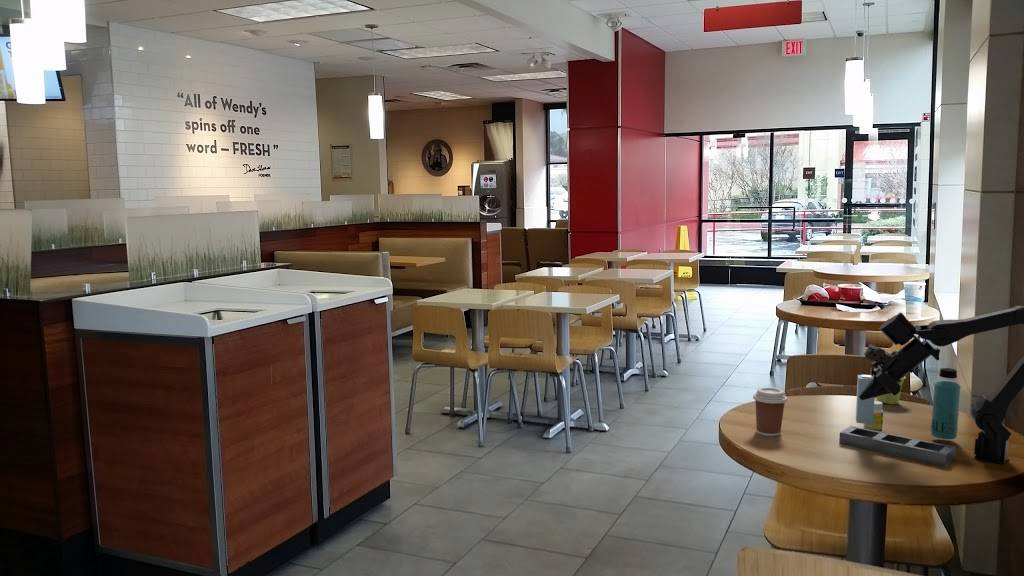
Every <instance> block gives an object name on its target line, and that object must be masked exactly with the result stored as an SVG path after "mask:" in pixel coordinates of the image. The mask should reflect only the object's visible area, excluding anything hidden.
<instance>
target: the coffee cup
mask: <svg viewBox="0 0 1024 576" xmlns="http://www.w3.org/2000/svg"><path fill="white" fill-rule="evenodd" d="M752 399H753V400H754V401H755V421H756V423H755V424H756V433H757V434H759V435H762V436H765V437H777V436H780V435H781V432H782V424H783V417H784V411H785V410H784V409H785V403H787V402H788V396H786V394H785V391H784V390H782V389H780V388H776V387H765V386H764V387H759V388H758V389H757V391H756V392H755V393H754V394H753V396H752Z"/></svg>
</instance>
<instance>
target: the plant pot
mask: <svg viewBox="0 0 1024 576" xmlns="http://www.w3.org/2000/svg"><path fill="white" fill-rule="evenodd" d="M906 378H907V377H906V375H905V376H904V377H903V378H902V379H901V382H900V385H901V389H902V387H903V384H904V382H905V380H906ZM901 391H902V390H901ZM901 391H900V392H899V393H898V394H896V395H895V396H894V395H893V394H892V393H891V394H885V395H880V396H876V401H879V402H882V404H888V405H897V404H898V403H899V401H900V396H901V393H902V392H901Z"/></svg>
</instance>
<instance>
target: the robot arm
mask: <svg viewBox="0 0 1024 576" xmlns="http://www.w3.org/2000/svg"><path fill="white" fill-rule="evenodd" d="M1016 325H1024V305H1015V306H1014V307H1011V308H1007V309H1002V310H998V311H993V312H989V313H985V314H980V315H976V316H972V317H968V318H963V319H939V320H933V321H930V322H929V323H928V324H923V325H913V323H911V322H910V321H909V319H907V317H906V316H905V315H904V313H902V312H901V311H900V312H898V314H896V315H894V316H891V317H890V318H888V319H886V321H884V322H883V324H881V325H880V326H879V331H880V332H881V333H882V334H884V335H885V336H886V338H888V340H889V341H891V342H892V343H893V345H895V346H897V345H900V346H903V347H902V348H899V350H898V351H897V350H893V351H892V352H891V353H889V352H888V351H886V350H885V349H884V348H883V349H882V348H881V347H880V346H876V345H874V344H870V343H869V345H868V346H867V347H866V349H865V352H864V353H863V355H864V357H865V358H866V359H867V360H870V361H871V360H872V362H871V366H872V367H870V375H871V376H873V382H872V383H871V384H870V385H869V386H868V387H867V389H866V390H865V391H864V392H863V393H862V394H861V395H860V396H859V398H860V399H861V400H865V399H869V398H873V397H875V398H877V396H880V395H885V394H891V393H892V394H893V395H894V396H895V395H896V394H898V393H899V392H900V391H902V388H901V385H900V382H901V379H902V378H903V377H904V376H905V377H906V376H907V375H908V374H909V373H910V374H913V373H914V372H915V369H916V368H917V367H918V366H920V365H921V364H922V363H923V362H925V361H926V360H927V359H928V358H929V357H931V356H932V357H933V359H934V360H936V361H940V353H941V350H940V347H947V346H949V345H951V344H952V345H953V343H957V342H959V341H960V340H962V339H964V338H966V337H969V336H971V335H977V334H981V333H984V332H989V331H993V330H997V329H1003V328H1008V327H1011V326H1016ZM916 335H917V336H918V337H919V338H920V339H921V340H920V339H919V338H918V337H917V336H916ZM928 341H929V342H928ZM930 343H932V344H933V345H934V346H937V347H938V348H937V347H933V346H932V345H931V344H930ZM873 367H874V368H873ZM1023 389H1024V355H1023V356H1022V357H1021V358H1020V359H1019V360H1018V362H1017V363H1016V364H1015V365H1014V367H1013V368H1012V369H1011V371H1009V373H1008V374H1007V375H1006V376H1005V378H1004V379H1003V380H1002V382H1001V383H1000V384H999V385H998V386H997V388H996V389H995V390H994V391H993V392H992V393H991V394H989V395H987V396H986V395H985V394H984V393H981V394H980V395H979V396H978V399H977V400H976V401H975V402H974V403H972V404H971V408H972V409H971V410H970V415H971V419H972V420H973V422H974V424H975V425H976V426H977V428H978V429H979V430H980V432H979V433H978V434H977V435H978V436H977V437H976V438H975V439H974V452H973V454H974V457H973V458H974V459H976V460H980V461H986V462H990V463H996V464H1000V465H1004V464H1005V463H1006V462H1007V461H1008V460H1009V457H1010V456H1009V455H1008V454H1009V453H1008V451H1009V442H1010V440H1009V439H1010V437H1011V435H1012V432H1011V431H1010V430H1009V429H1008V427H1007V426H1006V425H1005V424H1004V420H1005V418H1006V417H1007V414H1008V411H1009V408H1010V405H1011V403H1012V402H1013V401H1014V400H1015V398H1016V397H1017V396H1018V395H1019V394H1020V392H1021V391H1022V390H1023Z"/></svg>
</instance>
